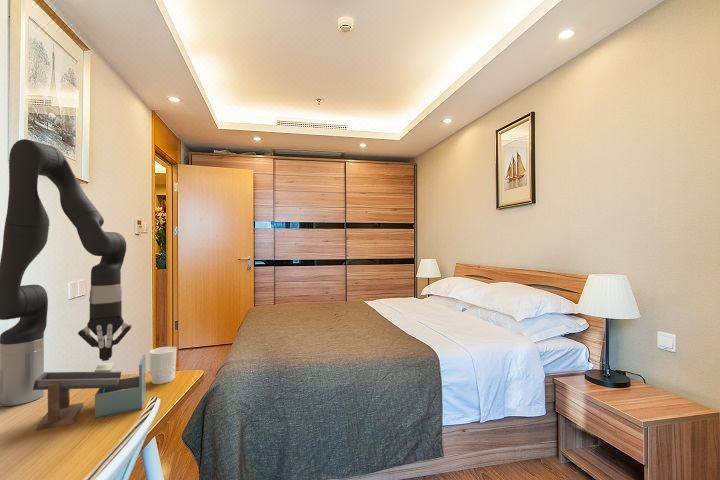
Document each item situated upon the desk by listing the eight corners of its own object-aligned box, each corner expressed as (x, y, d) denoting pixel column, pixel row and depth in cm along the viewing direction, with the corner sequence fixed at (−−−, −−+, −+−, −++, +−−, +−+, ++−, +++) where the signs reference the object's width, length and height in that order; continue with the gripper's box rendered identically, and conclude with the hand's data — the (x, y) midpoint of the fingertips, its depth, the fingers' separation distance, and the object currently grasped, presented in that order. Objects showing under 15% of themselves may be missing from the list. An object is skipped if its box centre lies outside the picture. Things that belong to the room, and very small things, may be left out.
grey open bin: (95, 418, 88) (94, 371, 88) (103, 403, 97) (103, 360, 97) (141, 409, 93) (141, 364, 93) (145, 395, 102) (145, 354, 102)
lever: (32, 390, 84) (35, 379, 84) (51, 372, 96) (53, 362, 96) (115, 387, 92) (117, 377, 92) (123, 371, 104) (125, 362, 104)
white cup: (164, 385, 109) (164, 354, 109) (143, 384, 110) (143, 353, 110) (182, 376, 116) (181, 346, 116) (162, 375, 118) (161, 345, 118)
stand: (36, 430, 83) (36, 387, 83) (50, 412, 92) (50, 374, 92) (73, 423, 86) (73, 382, 86) (83, 406, 95) (83, 369, 95)
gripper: (134, 296, 106) (134, 353, 106) (80, 300, 100) (80, 359, 100) (131, 300, 100) (131, 360, 99) (73, 304, 93) (73, 368, 93)
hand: (105, 360), depth 100 cm, fingers closed
